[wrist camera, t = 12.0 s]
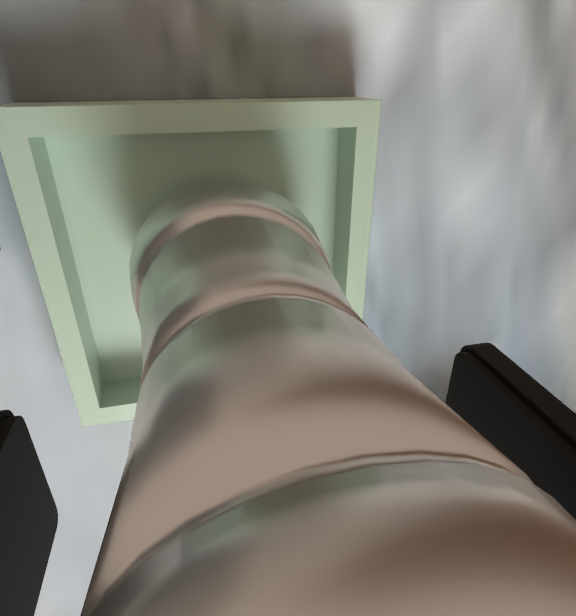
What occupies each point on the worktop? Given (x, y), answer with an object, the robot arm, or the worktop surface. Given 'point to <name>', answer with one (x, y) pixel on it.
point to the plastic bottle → (301, 447)
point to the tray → (155, 189)
